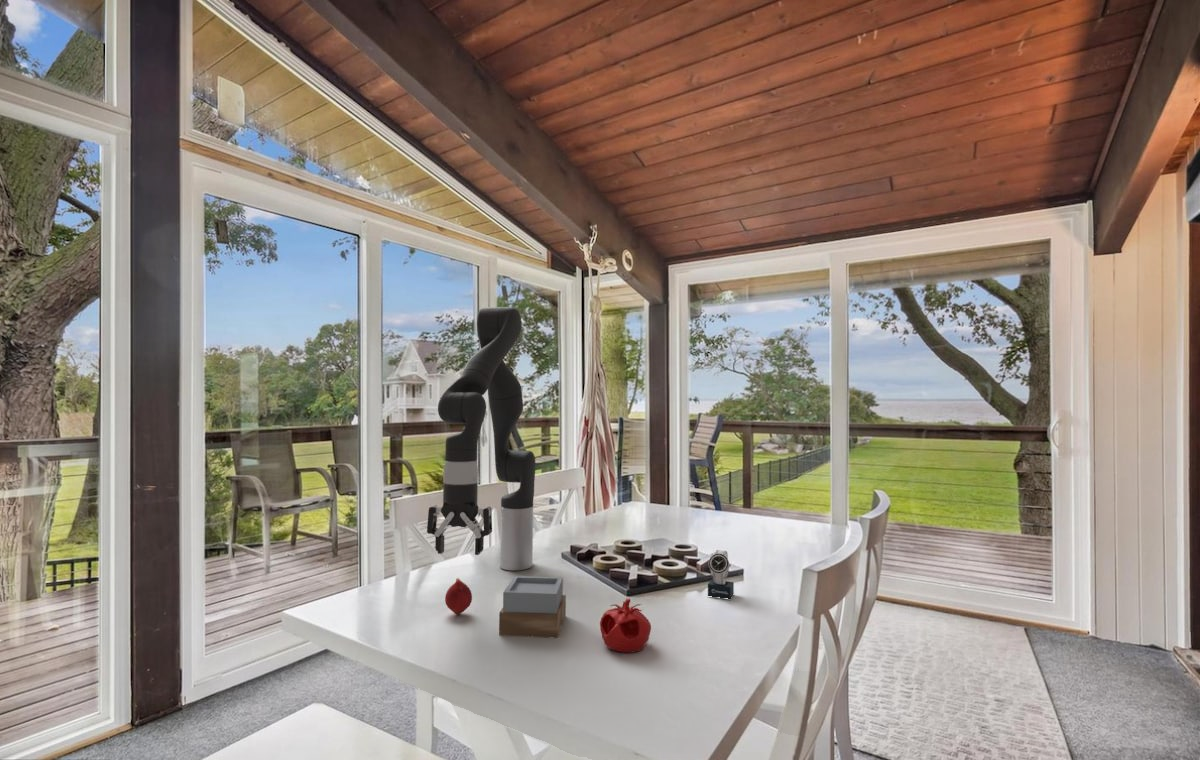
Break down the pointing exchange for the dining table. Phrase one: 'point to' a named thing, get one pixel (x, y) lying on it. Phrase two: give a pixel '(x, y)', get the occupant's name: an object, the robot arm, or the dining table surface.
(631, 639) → the pomegranate
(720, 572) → the watch
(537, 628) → the bottom block
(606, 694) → the dining table surface
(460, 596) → the onion
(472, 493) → the robot arm
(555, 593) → the top block
